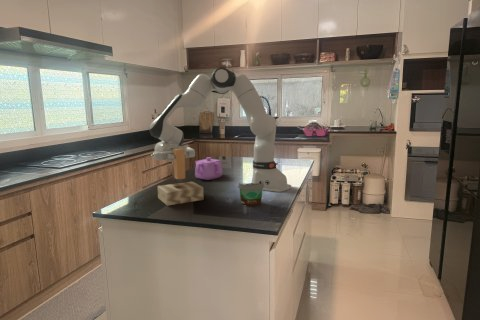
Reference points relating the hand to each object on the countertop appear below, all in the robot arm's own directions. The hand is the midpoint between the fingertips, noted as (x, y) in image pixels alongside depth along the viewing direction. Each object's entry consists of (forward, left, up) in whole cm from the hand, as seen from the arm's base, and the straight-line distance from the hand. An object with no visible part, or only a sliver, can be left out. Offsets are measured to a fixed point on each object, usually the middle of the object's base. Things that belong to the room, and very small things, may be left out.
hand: (179, 156), depth 158 cm
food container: (-33, -12, -21) cm, 41 cm away
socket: (+1, 0, -21) cm, 21 cm away
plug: (+1, 0, -10) cm, 11 cm away
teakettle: (+21, -44, -21) cm, 53 cm away
